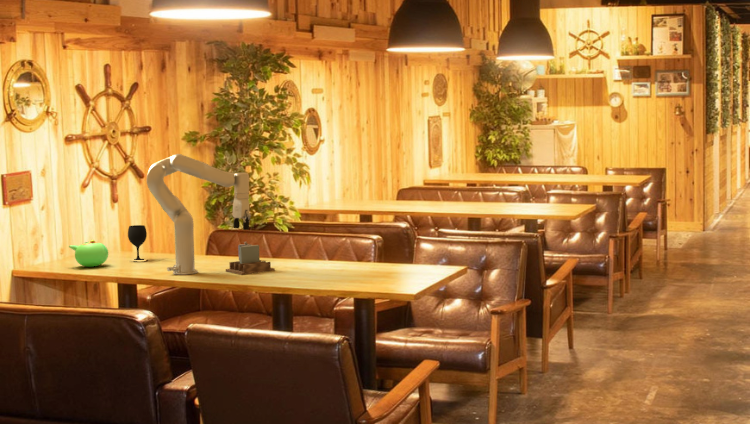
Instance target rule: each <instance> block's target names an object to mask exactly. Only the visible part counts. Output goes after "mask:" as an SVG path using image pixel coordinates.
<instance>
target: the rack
mask: <svg viewBox="0 0 750 424" xmlns="http://www.w3.org/2000/svg"><path fill="white" fill-rule="evenodd" d="M275 269H276V268H274V267H271V261H266V260H262V259H261V260H260V262H252V263H243V264H240V261H239V260H238V261H236V260H235V261H230V262H229V268H225V273H232V274H237V275H241V276H243V275H250V274H251V275H252V273H253V274H258V273H269V272H273V271H274V272H275V271H276V270H275Z"/></svg>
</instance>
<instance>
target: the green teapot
mask: <svg viewBox="0 0 750 424" xmlns="http://www.w3.org/2000/svg"><path fill="white" fill-rule="evenodd" d="M68 248H70V249H71V250H73V251H75V252H74V258H75V260H76V262H77V264H79V265H81V266H82V267H87V268H95V267H98V266H101V265H103V264H104V263H105V262H107V259H108V258H109V249H108V248H107V246H106V245H105V244H104V243H102V242H99V241H95V240H94V239H91V240H90V241H87V242H86V241H85V242H84V243H82V244H80V245H69V246H68ZM94 266H95V267H94Z"/></svg>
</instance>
